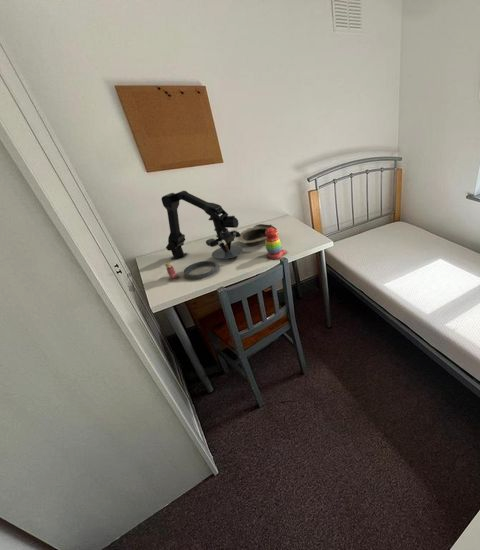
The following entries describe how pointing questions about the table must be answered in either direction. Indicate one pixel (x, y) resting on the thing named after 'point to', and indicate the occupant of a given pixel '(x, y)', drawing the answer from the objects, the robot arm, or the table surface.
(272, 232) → the stacking bear
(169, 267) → the doll
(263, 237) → the stone bowl
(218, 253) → the lid
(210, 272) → the pan
